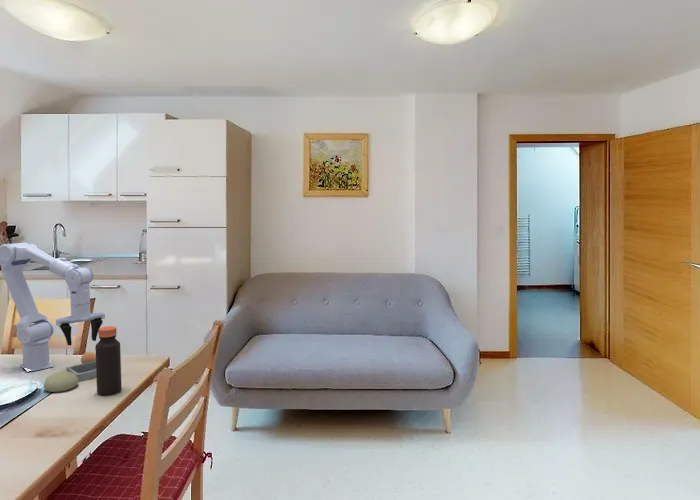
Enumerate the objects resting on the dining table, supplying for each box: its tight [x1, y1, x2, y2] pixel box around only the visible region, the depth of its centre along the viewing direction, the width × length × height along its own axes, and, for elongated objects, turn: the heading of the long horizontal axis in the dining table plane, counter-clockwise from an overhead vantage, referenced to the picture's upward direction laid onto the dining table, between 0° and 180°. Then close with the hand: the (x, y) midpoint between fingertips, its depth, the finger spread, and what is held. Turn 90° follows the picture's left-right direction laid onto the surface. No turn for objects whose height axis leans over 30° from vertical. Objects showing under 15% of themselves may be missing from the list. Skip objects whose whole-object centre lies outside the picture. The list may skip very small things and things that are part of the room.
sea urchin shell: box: [43, 370, 80, 393], centre depth 147 cm, size 9×8×8 cm
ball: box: [80, 351, 96, 364], centre depth 166 cm, size 5×5×5 cm
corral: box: [65, 361, 97, 383], centre depth 158 cm, size 10×11×2 cm
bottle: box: [94, 325, 123, 397], centre depth 144 cm, size 7×7×20 cm
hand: (81, 342), depth 160 cm, fingers open, 7 cm apart
